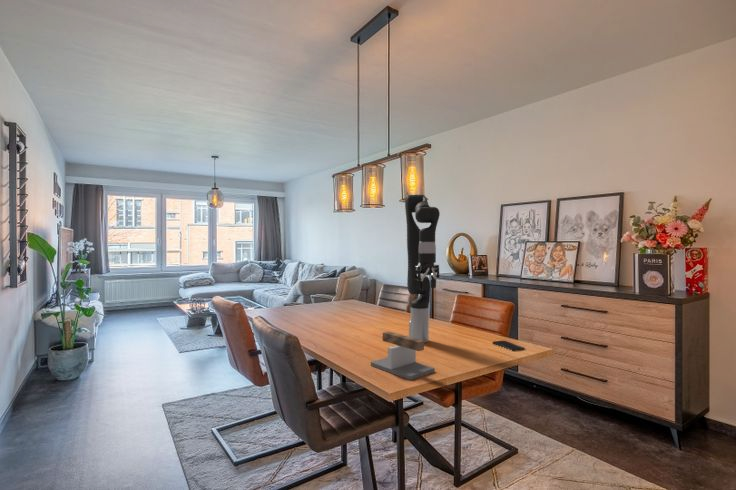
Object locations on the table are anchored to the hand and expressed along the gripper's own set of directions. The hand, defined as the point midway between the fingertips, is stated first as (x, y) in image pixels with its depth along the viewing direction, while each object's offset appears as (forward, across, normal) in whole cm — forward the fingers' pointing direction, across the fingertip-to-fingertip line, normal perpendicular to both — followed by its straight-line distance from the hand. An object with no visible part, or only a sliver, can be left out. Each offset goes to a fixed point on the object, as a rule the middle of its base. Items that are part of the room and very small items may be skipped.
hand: (427, 288), depth 172 cm
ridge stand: (+30, +20, +4) cm, 36 cm away
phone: (+31, -43, +15) cm, 55 cm away
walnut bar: (+21, +20, +4) cm, 29 cm away
